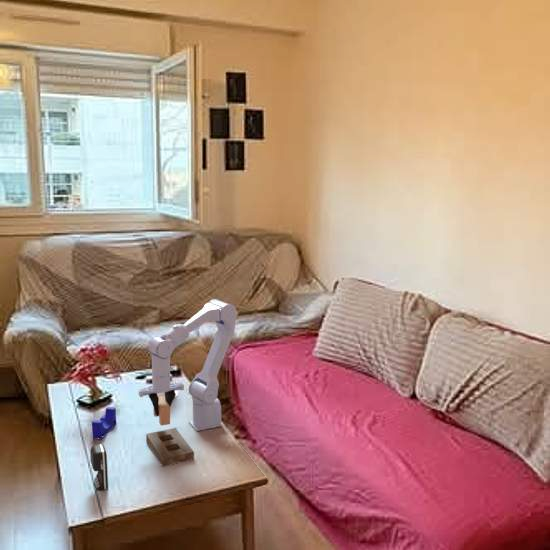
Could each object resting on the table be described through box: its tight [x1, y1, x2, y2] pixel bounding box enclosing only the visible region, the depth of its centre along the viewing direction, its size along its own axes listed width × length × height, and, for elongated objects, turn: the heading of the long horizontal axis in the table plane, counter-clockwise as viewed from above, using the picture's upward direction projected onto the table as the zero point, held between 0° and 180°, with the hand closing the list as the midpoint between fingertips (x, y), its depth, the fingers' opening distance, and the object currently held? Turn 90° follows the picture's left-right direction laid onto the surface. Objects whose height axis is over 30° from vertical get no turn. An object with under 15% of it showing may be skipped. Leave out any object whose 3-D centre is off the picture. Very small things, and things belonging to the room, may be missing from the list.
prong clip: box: [153, 396, 171, 426], centre depth 195 cm, size 3×9×6 cm, turn 26°
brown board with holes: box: [145, 427, 195, 467], centre depth 189 cm, size 10×18×2 cm, turn 27°
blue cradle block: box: [91, 406, 117, 440], centre depth 201 cm, size 12×4×6 cm, turn 171°
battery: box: [89, 443, 109, 491], centre depth 168 cm, size 7×4×11 cm, turn 25°
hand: (162, 413), depth 195 cm, fingers closed on prong clip, 3 cm apart
